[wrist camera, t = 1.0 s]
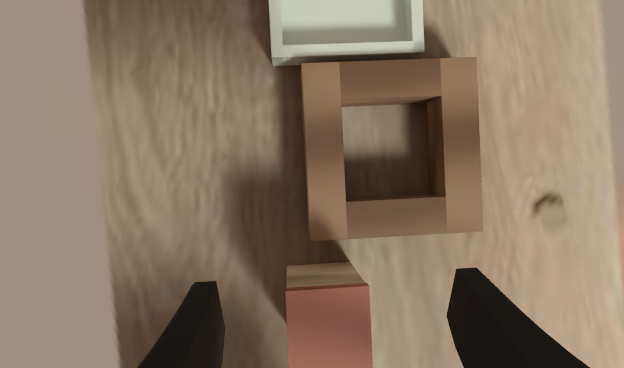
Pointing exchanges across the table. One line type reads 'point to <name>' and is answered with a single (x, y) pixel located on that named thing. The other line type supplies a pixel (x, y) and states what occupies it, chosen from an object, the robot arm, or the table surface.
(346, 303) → the pink-ended wooden beam
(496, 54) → the table surface
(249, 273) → the table surface
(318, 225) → the wooden square frame
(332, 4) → the tray
